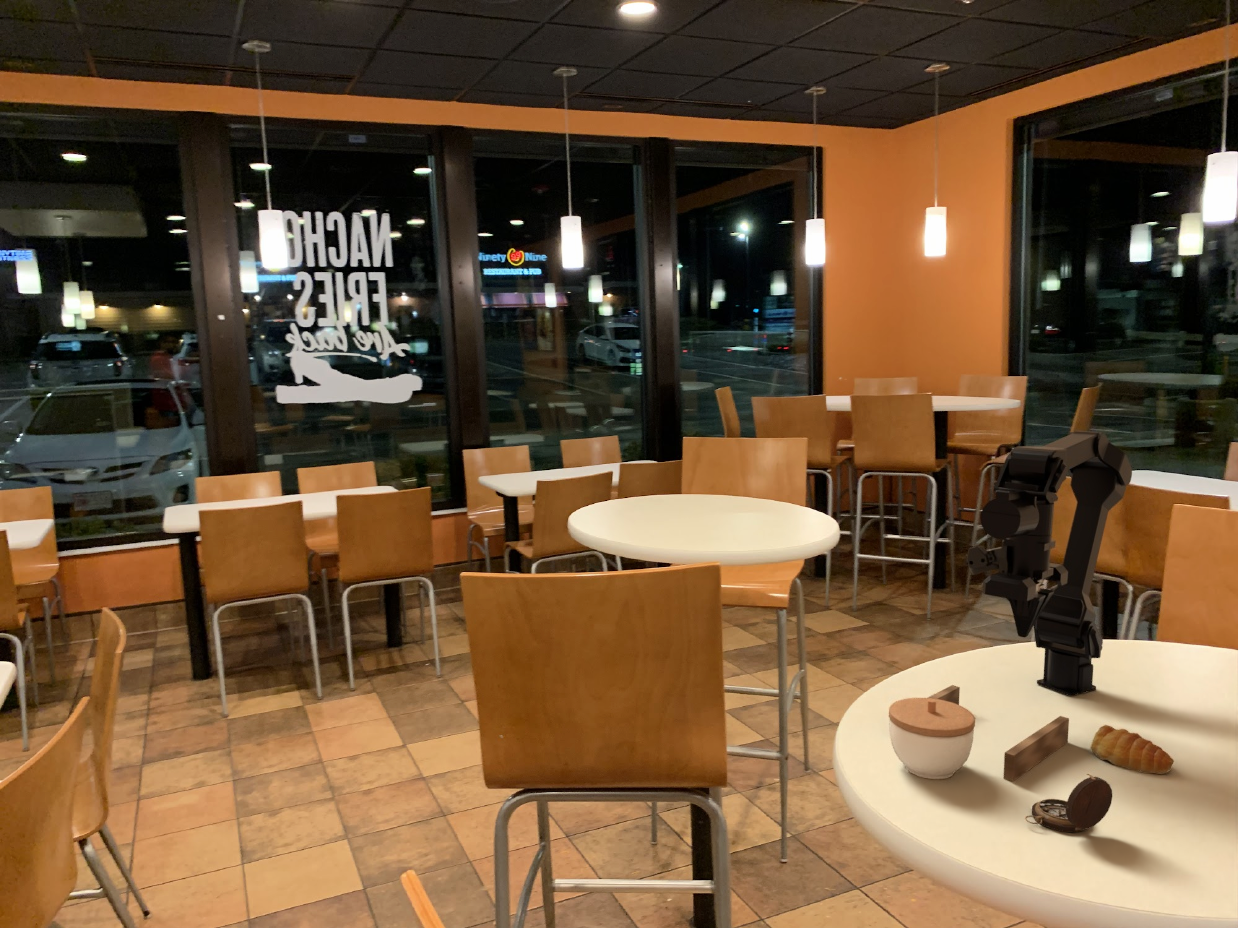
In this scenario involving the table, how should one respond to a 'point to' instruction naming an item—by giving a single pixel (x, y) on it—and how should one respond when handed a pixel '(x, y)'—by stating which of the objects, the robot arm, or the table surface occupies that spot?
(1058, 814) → the compass
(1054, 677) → the robot arm
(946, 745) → the lidded jar
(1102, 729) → the pastry
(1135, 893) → the table surface
